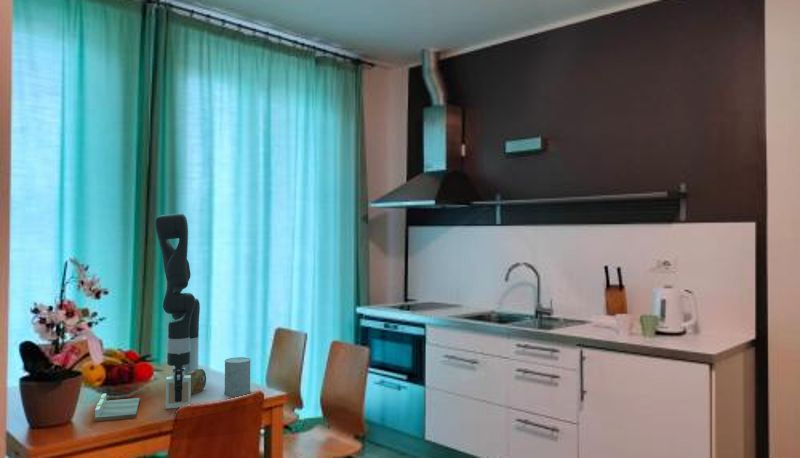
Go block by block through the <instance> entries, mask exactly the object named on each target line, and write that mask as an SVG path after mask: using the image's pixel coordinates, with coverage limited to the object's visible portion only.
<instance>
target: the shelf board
mask: <svg viewBox="0 0 800 458" xmlns="http://www.w3.org/2000/svg"><path fill="white" fill-rule="evenodd" d="M140 400H141V398H140V397H133V398H121V399H110V400H106V403H105V405H104V407H103V410H102V412H101V414H100V416H99V417H97V418H95V417H94V422H103V421H114V420H124V419H135V418H134V417H136V418H137V415H138V410H139V407H140V402H141V401H140Z"/></svg>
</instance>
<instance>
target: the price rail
mask: <svg viewBox="0 0 800 458" xmlns="http://www.w3.org/2000/svg"><path fill="white" fill-rule="evenodd" d="M106 401H107V393H102V395H101V396H100V398H99V401H98V402H97V404H96V407H95V409H94V419H95V418H97V417H99V416H100V414H101V412H102V410H103V407H104V405H105V403H106Z"/></svg>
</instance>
